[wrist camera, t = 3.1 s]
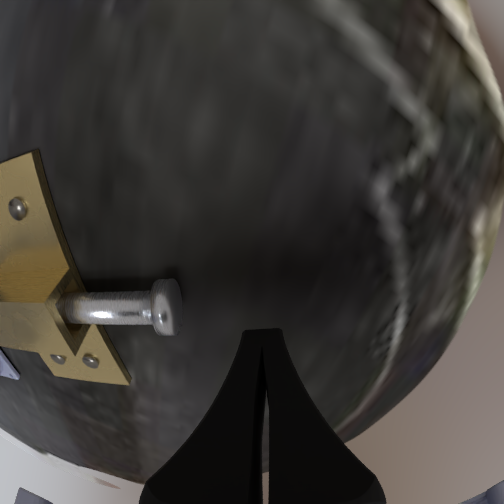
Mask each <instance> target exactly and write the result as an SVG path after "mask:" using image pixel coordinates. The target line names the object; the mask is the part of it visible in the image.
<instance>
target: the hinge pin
mask: <svg viewBox="0 0 504 504" xmlns="http://www.w3.org/2000/svg"><path fill="white" fill-rule="evenodd" d="M55 306H56V308H57V310H58V312H59V314H60V316H61V318H62V320H63V321H64V323H75V324H106V325H153V326H154V329H155V331H156V332H157V334H158V335H160V336H176V335H178V334H179V332H180V330H181V326H182V320H183V304H182V296H181V291H180V288H179V285H178V283H177V281H176V280H175V279H157V280H156V281H155V282H154V284H153V286H152V290H150V291H121V292H82V293H62V295H61V296H60V298H59V299H58V301H57V302H56V304H55Z"/></svg>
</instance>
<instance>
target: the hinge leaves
mask: <svg viewBox="0 0 504 504" xmlns="http://www.w3.org/2000/svg"><path fill="white" fill-rule="evenodd" d="M82 292H87V291H86V289H85V287H84V284H83V282H82V280H81V277H80V275H79V273H78V270H77V268H76V265H75V263H74V260H73V258H72V255H71V253H70V250H69V247H68V245H67V242H66V239H65V236H64V234H63V231H62V228H61V225H60V222H59V219H58V216H57V213H56V210H55V207H54V204H53V201H52V197H51V194H50V191H49V187H48V184H47V180H46V177H45V173H44V169H43V165H42V161H41V157H40V153H39V149H37V150H34V151H31V152H28V153H25V154H23V155H20V156H17V157H14V158H12V159H9V160H7V161H4V162H2V163H0V346H2V347H8V348H13V349H19V350H26V351H32V352H38V353H39V355H40V356H41V357H42V359H43V360H44V362H45V363H46V364H47V366H48V367H49V369H50V370H51V371H52V373H53V374H54V375H55V376H59V377H65V378H72V379H79V380H86V381H94V382H102V383H112V384H122V385H130V382H131V379H132V378H131V377H130V375H129V373H128V372H127V370H126V368H125V366H124V365H123V363H122V361H121V359H120V357H119V356H118V354H117V352H116V350H115V348H114V346H113V345H112V343H111V341H110V339H109V337H108V335H107V333H106V331H105V329H104V327H103V325H102V324H75V323H64V321H63V320H62V318H61V316H60V314H59V312H58V310H57V308H56V306H55V304H56V302H57V301H58V299H59V298H60V296H61V295H62V293H82Z"/></svg>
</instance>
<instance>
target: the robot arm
mask: <svg viewBox="0 0 504 504" xmlns="http://www.w3.org/2000/svg"><path fill="white" fill-rule="evenodd" d="M0 375H1V376H5V377H8V378H12V379H16V380H19V378H20V375H19V374H18V372H17V371H16V370H15V368H14V367H13V366H12V365H11V363H10V362H9V361H8V359H7V358H6V356H5V355H4V354H3V352H2V351H1V349H0ZM266 390H267V398H268V405H269V503H268V504H386V498H385V495H384V492H383V489H382V487H381V485H380V483H379V481H378V479H377V477H376V476H375V474H373V473H372V472H371V471H370V470H369V469H368V468H367V467H366V466H365V465H364V464H363V463H362V462H361V461H360V460H359V459H358V458H357V457H356V456H355V455H354V454H353V453H352V452H351V451H350V450H349V449H348V448H347V447H346V446H345V444H344V443H343V442H342V441H341V439H340V438H339V437H338V436H337V434H336V433H335V432H334V431H333V430H332V428H331V427H330V426H329V424H328V423H327V422H326V420H325V419H324V417H323V416H322V415H321V413H320V412H319V410H318V409H317V407H316V406H315V404H314V403H313V401H312V399H311V398H310V396H309V394H308V392H307V391H306V389H305V387H304V385H303V383H302V382H301V380H300V378H299V376H298V374H297V371H296V369H295V367H294V365H293V363H292V361H291V358H290V356H289V353H288V350H287V348H286V345H285V341H284V337H283V333H282V330H281V329H280V328H273V329H256V330H245V331H244V332H243V333H242V338H241V341H240V345H239V348H238V351H237V353H236V356H235V359H234V361H233V364H232V366H231V368H230V370H229V373H228V375H227V377H226V379H225V381H224V383H223V385H222V387H221V389H220V391H219V393H218V395H217V396H216V398H215V400H214V402H213V403H212V405H211V407H210V408H209V410H208V411H207V413H206V414H205V416H204V418H203V419H202V420H201V422H200V423H199V425H198V426H197V427H196V429H195V430H194V431H193V433H192V434H191V435H190V437H189V438H188V439H187V440H186V442H185V443H184V444H183V445H182V446H181V447H180V448H179V449H178V451H177V452H176V453H175V454H174V455H173V456H172V457H171V458H170V459H169V460H168V461H167V462H166V463H165V464H164V465H163V466H162V467H161V468H160V469H159V470H158V471H157V472H156V473H155V474H154V475H153V476H151V477H150V478H149V479H148V480H147V481H146V483H145V486H144V488H143V491H142V493H141V496H140V500H139V504H263V491H262V435H263V423H264V411H265V399H266ZM15 504H53V503H51V502H49V501H48V500H46V499H44V498H42V497H40V496H38V495H35V494H33V493H31V492H29V491H27V490H25V489H23V488H19V490H18V493H17V497H16V500H15ZM459 504H504V480H503V481H501V482H499V483H498V484H496V485H494V486H493V487H491V488H490V489H488V490H487V491H486V492H484V493H482V494H479V495H477V496H475V497H473V498H471V499H469V500H467V501H464V502H462V503H459Z"/></svg>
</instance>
